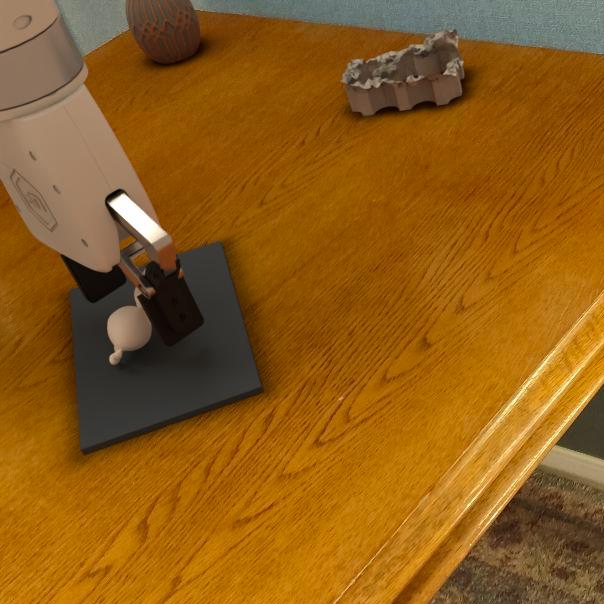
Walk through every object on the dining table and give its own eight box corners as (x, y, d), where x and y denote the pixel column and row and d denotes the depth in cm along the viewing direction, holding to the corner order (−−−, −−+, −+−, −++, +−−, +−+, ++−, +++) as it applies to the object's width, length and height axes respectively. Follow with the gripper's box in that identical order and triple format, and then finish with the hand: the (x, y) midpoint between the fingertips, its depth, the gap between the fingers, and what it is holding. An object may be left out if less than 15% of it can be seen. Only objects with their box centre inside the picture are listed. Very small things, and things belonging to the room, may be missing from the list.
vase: (154, 78, 103) (114, -12, 97) (139, 57, 108) (100, -30, 101) (217, 55, 105) (182, -35, 98) (199, 36, 109) (165, -52, 103)
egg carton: (471, 71, 93) (462, 25, 90) (461, 110, 88) (451, 63, 85) (361, 84, 95) (349, 39, 92) (345, 122, 90) (331, 77, 87)
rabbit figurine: (87, 358, 70) (136, 257, 71) (142, 384, 72) (189, 285, 73) (95, 350, 65) (147, 242, 66) (153, 379, 67) (204, 273, 68)
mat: (74, 298, 77) (69, 289, 77) (224, 248, 79) (220, 239, 78) (86, 458, 64) (80, 449, 64) (265, 395, 66) (261, 386, 65)
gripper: (-113, 67, 60) (37, 304, 72) (28, 127, 51) (171, 385, 64) (-3, 15, 63) (123, 251, 76) (148, 63, 54) (262, 321, 67)
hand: (145, 312), depth 70 cm, fingers open, 9 cm apart
